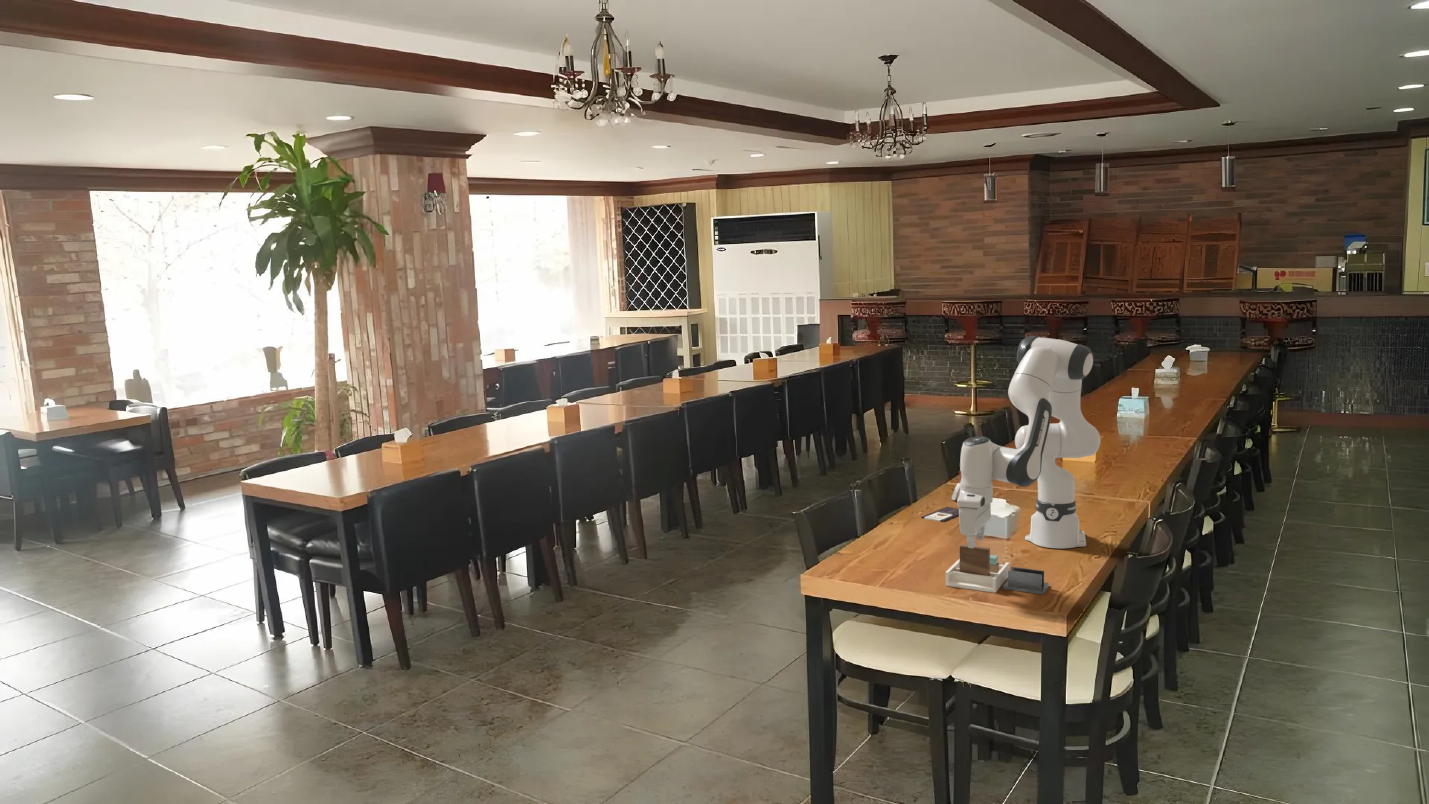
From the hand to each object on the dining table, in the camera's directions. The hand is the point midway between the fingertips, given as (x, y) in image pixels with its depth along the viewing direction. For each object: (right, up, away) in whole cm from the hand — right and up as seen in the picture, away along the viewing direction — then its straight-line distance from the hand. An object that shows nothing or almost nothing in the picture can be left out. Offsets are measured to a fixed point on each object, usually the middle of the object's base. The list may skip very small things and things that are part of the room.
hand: (975, 543), depth 272 cm
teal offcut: (+5, -7, +9) cm, 12 cm away
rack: (+2, -12, +5) cm, 13 cm away
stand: (+14, -12, -1) cm, 18 cm away
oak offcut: (+4, -10, +9) cm, 14 cm away
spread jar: (+22, +2, +95) cm, 98 cm away
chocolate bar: (+10, -2, +77) cm, 78 cm away
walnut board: (0, -11, +2) cm, 11 cm away
